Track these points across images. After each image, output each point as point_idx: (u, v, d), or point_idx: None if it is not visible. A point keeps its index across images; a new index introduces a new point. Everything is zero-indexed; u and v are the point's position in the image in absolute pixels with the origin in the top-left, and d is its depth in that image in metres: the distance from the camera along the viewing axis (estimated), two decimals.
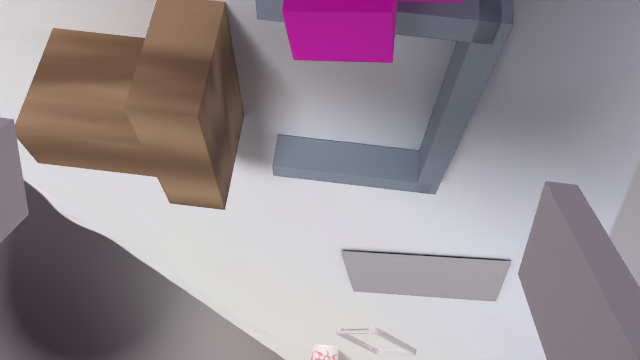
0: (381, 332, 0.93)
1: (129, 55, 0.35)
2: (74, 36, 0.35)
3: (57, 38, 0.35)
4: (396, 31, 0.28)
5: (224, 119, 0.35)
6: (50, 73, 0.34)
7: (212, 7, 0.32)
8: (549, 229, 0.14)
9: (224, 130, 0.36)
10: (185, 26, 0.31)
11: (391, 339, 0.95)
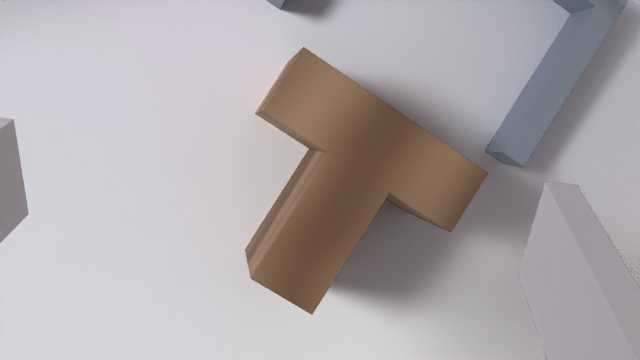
0: None
1: (292, 181, 0.35)
2: (258, 230, 0.36)
3: (250, 244, 0.35)
4: None
5: None
6: (255, 248, 0.33)
7: None
8: (549, 229, 0.14)
9: None
10: (274, 84, 0.34)
11: None
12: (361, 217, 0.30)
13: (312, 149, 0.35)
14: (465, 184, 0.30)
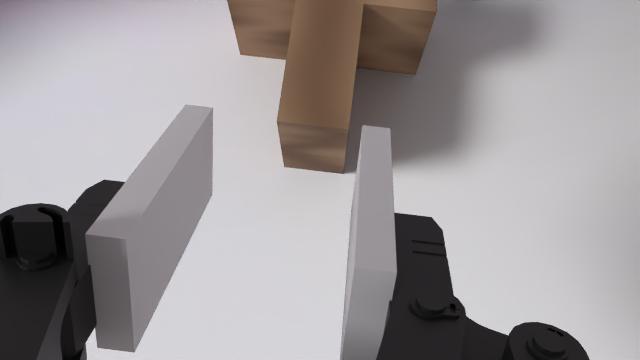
0: None
1: None
2: None
3: None
4: None
5: None
6: None
7: None
8: (358, 164, 0.16)
9: None
10: None
11: None
12: (349, 32, 0.31)
13: None
14: None
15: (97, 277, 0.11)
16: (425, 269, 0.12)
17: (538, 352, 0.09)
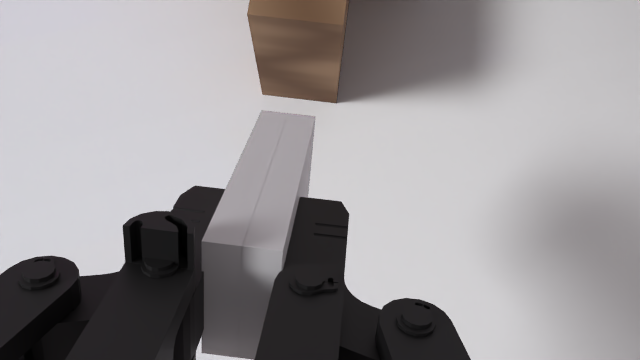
0: None
1: None
2: None
3: None
4: None
5: None
6: None
7: None
8: None
9: None
10: None
11: None
12: None
13: None
14: None
15: (209, 283, 0.11)
16: (321, 250, 0.12)
17: (407, 329, 0.10)
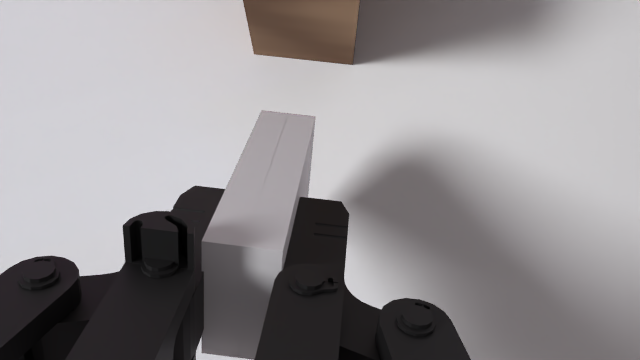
0: None
1: None
2: None
3: None
4: None
5: None
6: None
7: None
8: None
9: None
10: None
11: None
12: None
13: None
14: None
15: (210, 283, 0.11)
16: (322, 250, 0.12)
17: (407, 327, 0.10)
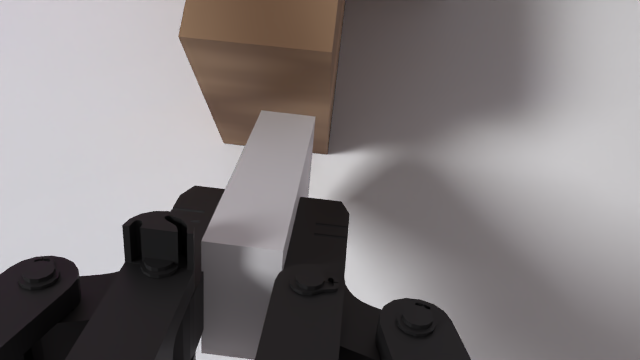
0: None
1: None
2: None
3: None
4: None
5: None
6: None
7: None
8: None
9: None
10: None
11: None
12: None
13: None
14: None
15: (209, 283, 0.11)
16: (322, 250, 0.12)
17: (407, 328, 0.10)
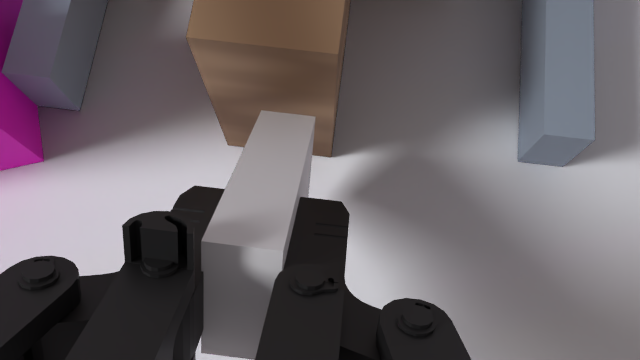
0: None
1: None
2: None
3: None
4: None
5: None
6: None
7: None
8: None
9: None
10: None
11: None
12: None
13: None
14: None
15: (209, 283, 0.11)
16: (322, 251, 0.12)
17: (407, 328, 0.10)
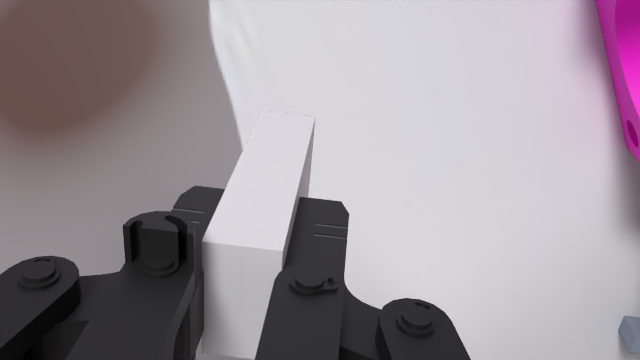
0: None
1: None
2: None
3: None
4: None
5: None
6: None
7: None
8: None
9: None
10: None
11: None
12: None
13: None
14: None
15: (209, 283, 0.11)
16: (321, 250, 0.12)
17: (407, 328, 0.10)
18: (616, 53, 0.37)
